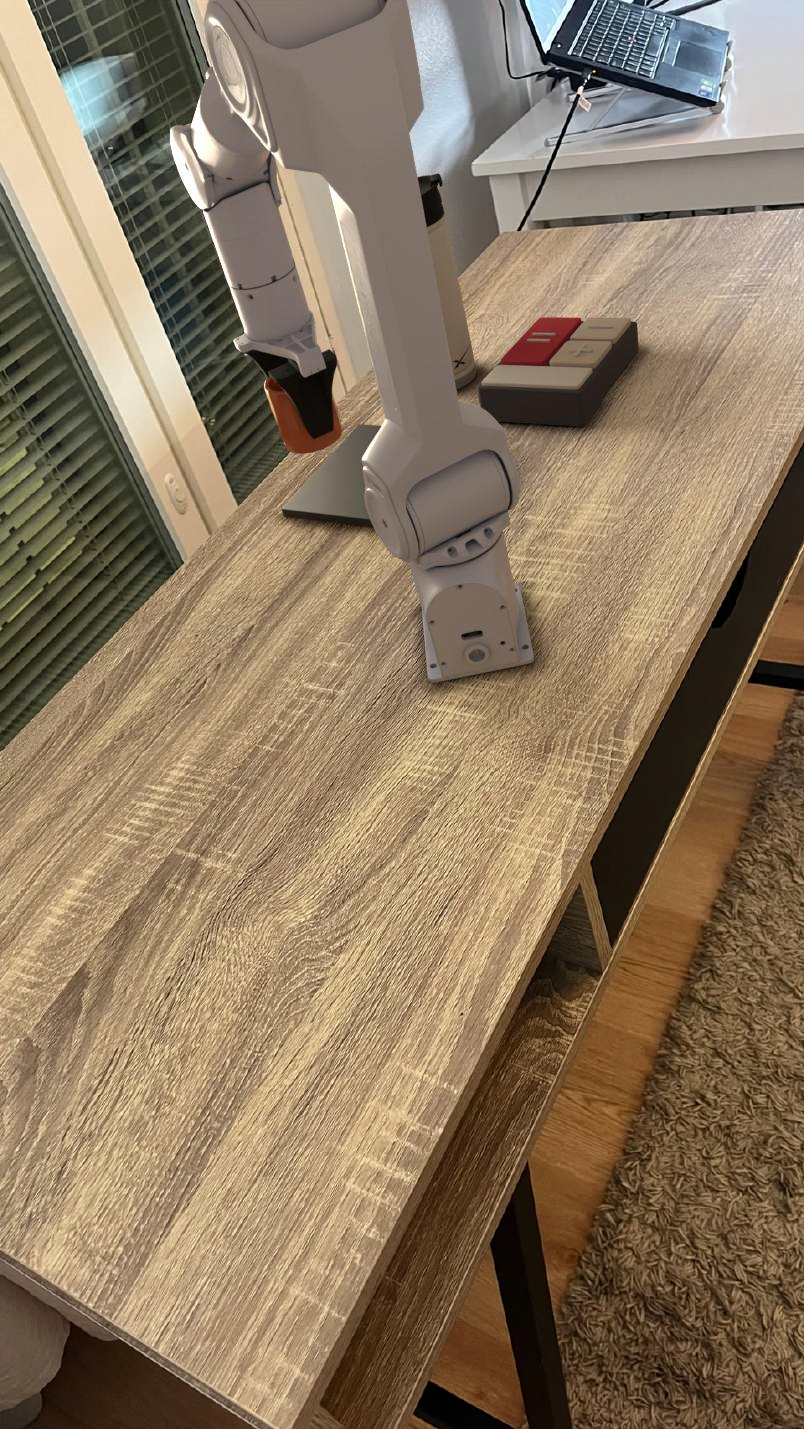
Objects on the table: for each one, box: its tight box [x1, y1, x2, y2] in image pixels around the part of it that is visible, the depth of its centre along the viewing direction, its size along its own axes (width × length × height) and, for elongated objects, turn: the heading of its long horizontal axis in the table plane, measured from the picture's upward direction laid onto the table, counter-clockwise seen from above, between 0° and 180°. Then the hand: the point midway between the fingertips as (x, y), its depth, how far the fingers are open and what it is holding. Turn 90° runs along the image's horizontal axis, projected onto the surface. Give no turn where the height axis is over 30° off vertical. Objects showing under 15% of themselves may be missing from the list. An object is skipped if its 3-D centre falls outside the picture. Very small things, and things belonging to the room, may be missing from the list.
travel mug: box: [417, 173, 478, 390], centre depth 107 cm, size 6×7×20 cm
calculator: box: [476, 316, 640, 427], centre depth 106 cm, size 11×4×15 cm
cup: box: [263, 376, 344, 455], centre depth 96 cm, size 6×6×6 cm
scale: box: [281, 423, 382, 528], centre depth 103 cm, size 15×12×2 cm
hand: (309, 421), depth 97 cm, fingers closed on cup, 5 cm apart
